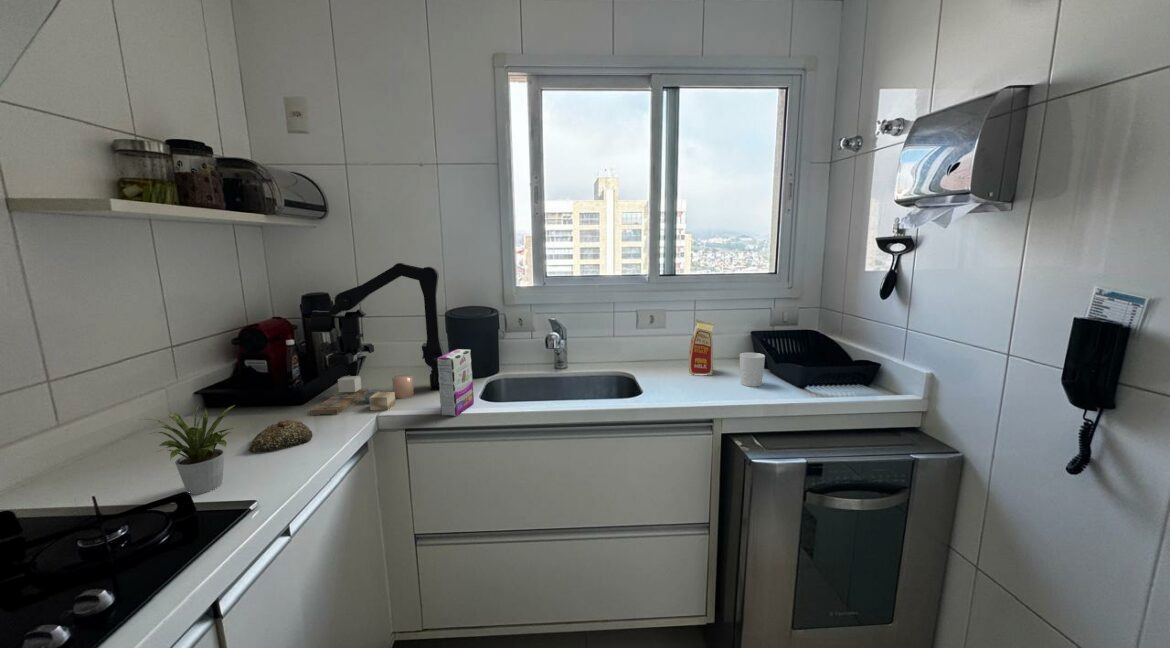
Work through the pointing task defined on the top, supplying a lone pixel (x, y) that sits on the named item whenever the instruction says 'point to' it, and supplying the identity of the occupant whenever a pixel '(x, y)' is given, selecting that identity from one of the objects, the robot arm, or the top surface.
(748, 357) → the white cup
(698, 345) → the milk carton
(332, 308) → the robot arm
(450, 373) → the candy bar box
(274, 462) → the top surface
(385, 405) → the oak block
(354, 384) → the white block
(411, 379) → the pink pillar candle
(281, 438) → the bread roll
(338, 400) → the board
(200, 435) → the house plant
